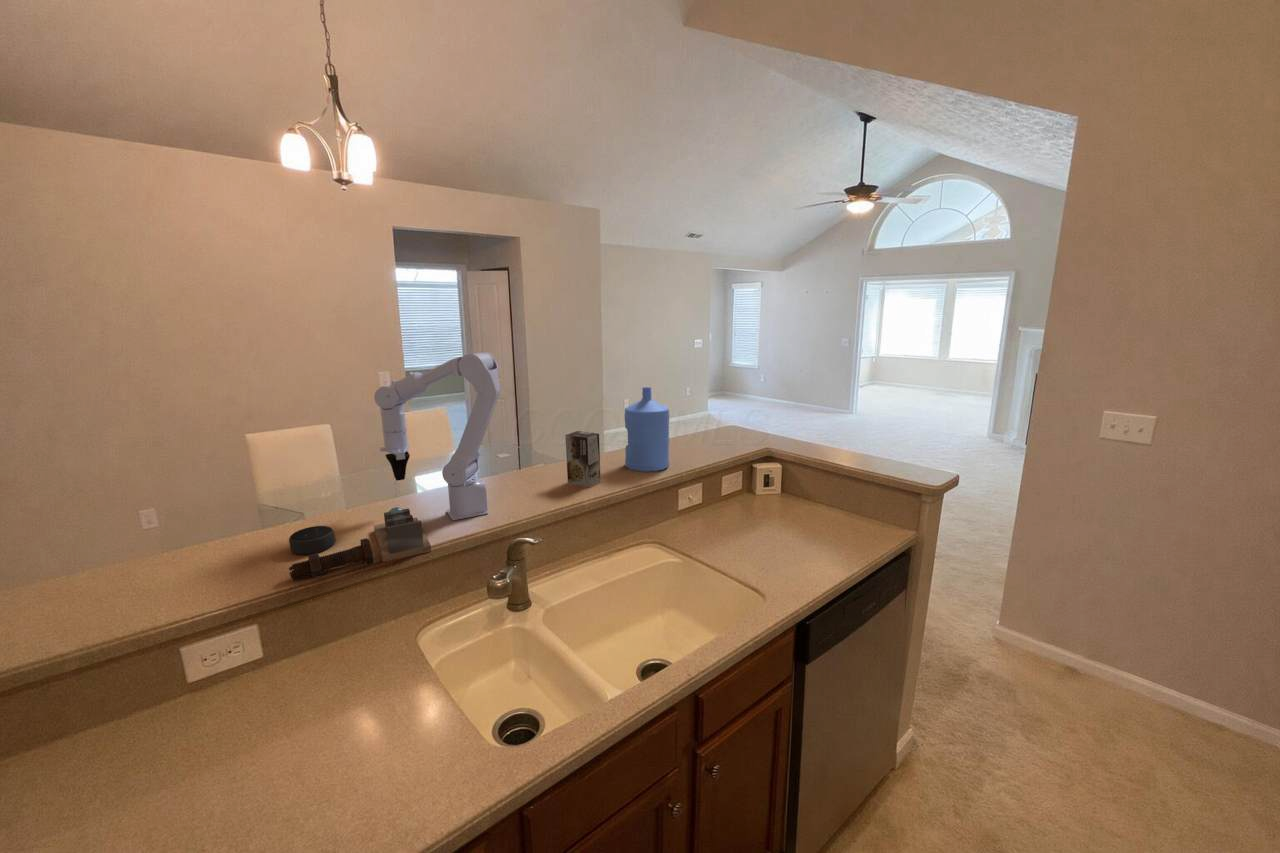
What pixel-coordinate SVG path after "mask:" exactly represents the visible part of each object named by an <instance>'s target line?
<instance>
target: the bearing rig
mask: <svg viewBox="0 0 1280 853" xmlns="http://www.w3.org/2000/svg"><path fill="white" fill-rule="evenodd" d="M401 509H402V510H397V511H391V512H389V511H387V512H383V518H384V519H383V520H384V523H380V524H374V525H373V530H374V535H375V539H376V541H377V545H378V548H379V554H380V556H381V557H380V558H381V560H382V563H385V562H390V561H395V560H399V559H405V558H407V557H413V556H416V555H421V554H422V555H423V554H426V553H429V552H432V545H431V543H430V541H429V539H428V537H427V535H426V533H425V530H424V529H423V527H422V520H419V518H418V517H413V515H412V514H411V509H410V508H404V509H403V508H401ZM400 515H403V516H402V517H397V518H392V517H394V516H400ZM401 522H404V524H399V525H395V524H396V523H401Z"/></svg>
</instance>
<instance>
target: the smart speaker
mask: <svg viewBox="0 0 1280 853" xmlns="http://www.w3.org/2000/svg"><path fill="white" fill-rule="evenodd" d="M335 535H336V534H335V530H334V529H333V528H332V527H330V526H327V525H316V526H315V525H314V526H309V527H305V528H303V529H299V530H297V531H294V533H292V534H291V535H290V536H289V539H288V543H289V549H290V552H292V553H293V554H295V555H302V556H303V555H304V556H306V555H311V554H315V553H316V554H319V553H321V552H324V551H326V550H328V549H330V548H331V547H332V546H334V544H335V543H336V537H335Z"/></svg>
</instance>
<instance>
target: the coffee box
mask: <svg viewBox="0 0 1280 853" xmlns="http://www.w3.org/2000/svg"><path fill="white" fill-rule="evenodd" d="M564 437H565V438H564V439H565V451H566V452H565V454H566V473H567V474H566V475H567V483H568V484H571V485H576V486H581V487H587V488H591V487H593V486H596V485H598V484H600V483H601V458H600V457H601V453H600V452H601V451H600V449H601V448H600V433H596V432H588V431H581V430H580V431H579V430H577V431H573V432H570V433H567V434H565V436H564Z"/></svg>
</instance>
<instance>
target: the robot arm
mask: <svg viewBox="0 0 1280 853" xmlns="http://www.w3.org/2000/svg"><path fill="white" fill-rule="evenodd" d="M405 375H406V376H404V377H403V378H401V379H399V380H396V379H395V380H392V381H391V382H390V383H391V384H390V385H382V386H380V387H379V388H378V389H377V390H376V391H375V393H374V396H373V397H374V402H375V403H376V405H377V406H378V407H379V408H380V410H379V411H380V416H381V426H382V435H383V445H384V446H383V447H380V448H379V451H380V452H386V453H387V454H385V458H386V459H387V462H388V463H389V464H390V466H391V470H392V473H393V477H394V478H395V480H396V482H397V481H404V480H405V479H406V473H407V472H406V471H407V464H408V461H409V460H410V456H411V455H410V453H409V451H408V450H410V445H409V440H408V430H407V422H406V421H407V420H406V413H405V412H406V411H405V410H406V408H405V405H406V403H407V402H409V401H411V400H413V399H415V398H417V397H419V396H422V395H423V394H427V393H428V391H429V389H430V386H431V385H433V384H435V383H437V382H440V381H442V380H445V379H447V378H448V377H451V376H453V375H454V376H457V377H460V376H462V377H463V378H465V379H466V380H467V382H468V383H470V384H471V385H472V386H473V388H474V390H475V392H476V393H477V395H476V397H475V400H474V403H473V406H472V408H471V410H470V414H469V417H468V419H467V422H466V424H465V427H464V430H463V432H462V434H461V435H462V436H461V438H460V441H459V444H458V447H457V448H456V449H455V451H454V452H453V454H452V455H451V457H450V460H449V462H447V463H446V464H445V465H444V467H443V468H442V473H441V474H442V478H443V480H444V482H445V483H447V489H448V490H447V491H448V498H449V500H448V501H449V503H448V504H449V509H446V513H447V514H448V516H449V518H450V519H451V520H452V521H456V520H457V521H459V520H462V519H467V518H473V517H477V516H483V515H487V514H489V511H488V510H489V509H488V498H487V488H486V487H487V486H486V483H485V481H484V479H482V478H478V479H477V478H476V473H477V472H478V470H479V457H480V452H479V449H480V448H481V444H482V442H483V439H484V436H485V433H486V431H487V428H488V426H489V424H490V420H491V418H492V415H493V413H494V410H495V407H496V405H497V402H498V400H499V396H500V393H501V385H500V379H499V364H498V362H497V361H496V359H495V358H494V356H493V355H492V354H491V353H489V352H486V351H479V352H476V353H467V354H465V355H463V356H458V357H455V358H452V359H450V360H447V361H446V362H444V363H442V364H440V365H438V366H436V367H434V368H431V370H428V371H426V372H425V373H421V372H418V371H416V372H414V371H410V372H407V373H406V374H405Z"/></svg>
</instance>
